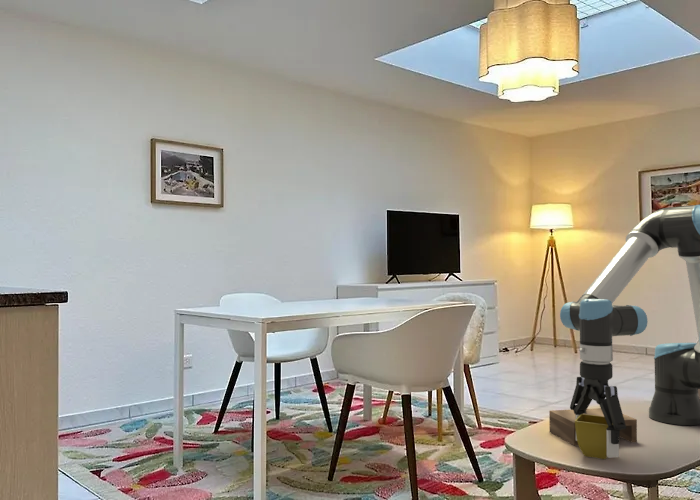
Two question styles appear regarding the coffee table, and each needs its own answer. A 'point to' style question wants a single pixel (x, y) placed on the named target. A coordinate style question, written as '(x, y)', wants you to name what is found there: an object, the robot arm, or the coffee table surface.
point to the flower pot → (592, 435)
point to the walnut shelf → (565, 428)
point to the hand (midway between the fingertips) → (596, 448)
